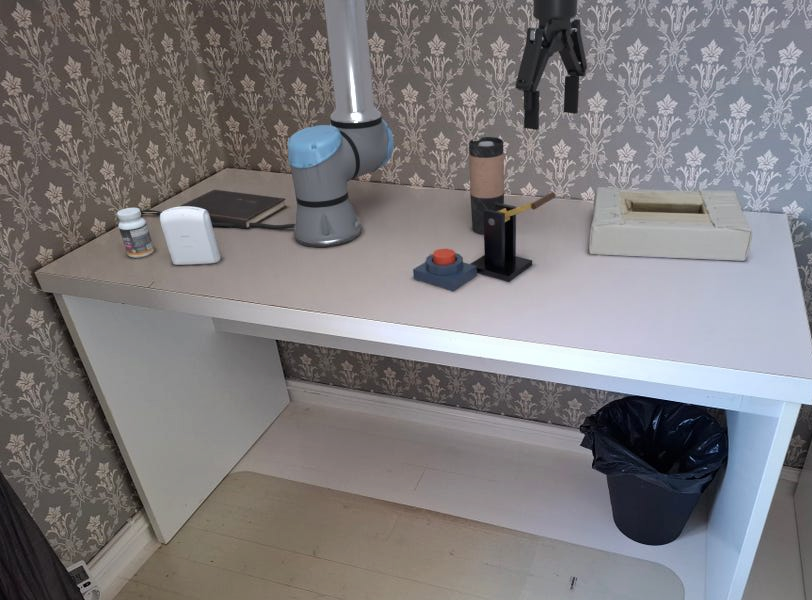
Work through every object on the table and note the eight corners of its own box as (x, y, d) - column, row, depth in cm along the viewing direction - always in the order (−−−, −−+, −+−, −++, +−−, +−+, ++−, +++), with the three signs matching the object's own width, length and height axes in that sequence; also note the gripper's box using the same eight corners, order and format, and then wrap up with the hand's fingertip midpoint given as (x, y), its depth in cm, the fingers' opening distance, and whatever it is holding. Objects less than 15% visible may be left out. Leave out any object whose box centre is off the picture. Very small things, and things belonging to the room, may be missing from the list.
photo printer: (170, 266, 146) (153, 211, 139) (177, 258, 150) (161, 204, 143) (217, 265, 146) (203, 210, 139) (223, 256, 149) (210, 202, 143)
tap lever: (557, 200, 128) (552, 188, 127) (538, 211, 123) (533, 199, 123) (506, 219, 137) (501, 208, 137) (487, 230, 133) (482, 219, 132)
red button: (428, 262, 135) (428, 254, 134) (442, 254, 137) (441, 246, 136) (446, 267, 132) (446, 259, 131) (459, 259, 135) (459, 251, 134)
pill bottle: (123, 254, 153) (109, 212, 147) (147, 246, 156) (134, 204, 151) (134, 260, 149) (120, 218, 144) (159, 252, 153) (146, 210, 147)
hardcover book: (216, 197, 182) (214, 189, 181) (286, 207, 174) (285, 198, 173) (173, 218, 170) (170, 210, 169) (247, 230, 162) (245, 220, 161)
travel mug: (501, 235, 154) (500, 146, 143) (468, 234, 155) (465, 146, 144) (506, 223, 160) (506, 136, 149) (474, 221, 161) (472, 136, 150)
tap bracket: (532, 265, 140) (533, 205, 133) (508, 282, 134) (508, 220, 127) (492, 254, 145) (491, 197, 138) (467, 270, 139) (465, 210, 132)
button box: (413, 279, 137) (412, 261, 135) (437, 264, 142) (436, 246, 140) (453, 291, 132) (452, 272, 129) (476, 275, 137) (476, 257, 135)
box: (588, 256, 143) (748, 262, 137) (590, 221, 139) (755, 225, 133) (590, 217, 162) (731, 220, 157) (592, 185, 158) (737, 188, 153)
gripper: (533, 0, 105) (531, 138, 117) (610, -15, 121) (602, 108, 133) (494, -1, 109) (496, 132, 121) (574, -16, 125) (569, 104, 137)
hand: (551, 120), depth 127 cm, fingers open, 13 cm apart
